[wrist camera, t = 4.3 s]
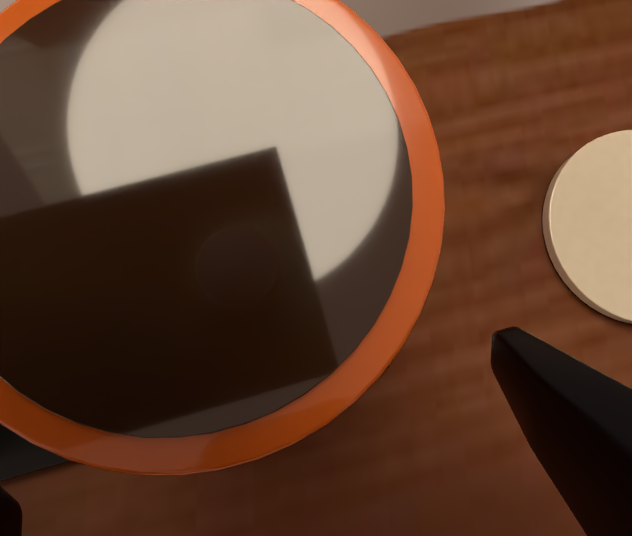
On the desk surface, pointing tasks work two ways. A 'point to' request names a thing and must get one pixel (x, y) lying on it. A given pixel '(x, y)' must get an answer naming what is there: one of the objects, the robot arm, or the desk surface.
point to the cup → (204, 225)
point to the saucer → (594, 224)
